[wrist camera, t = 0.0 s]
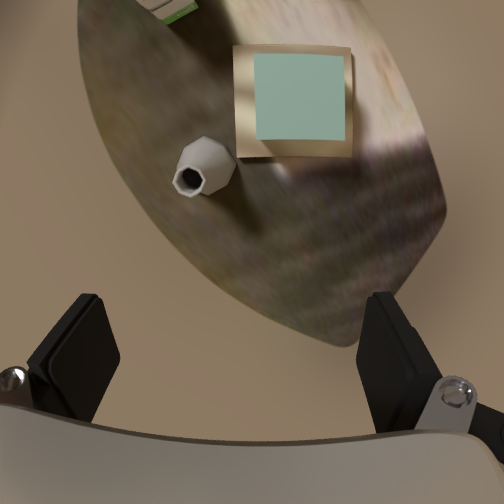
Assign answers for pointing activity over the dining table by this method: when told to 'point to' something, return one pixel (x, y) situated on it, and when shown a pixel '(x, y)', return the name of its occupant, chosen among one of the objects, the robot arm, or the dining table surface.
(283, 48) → the base board
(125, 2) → the dining table surface
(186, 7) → the ink box
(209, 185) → the flask
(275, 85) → the teal block
